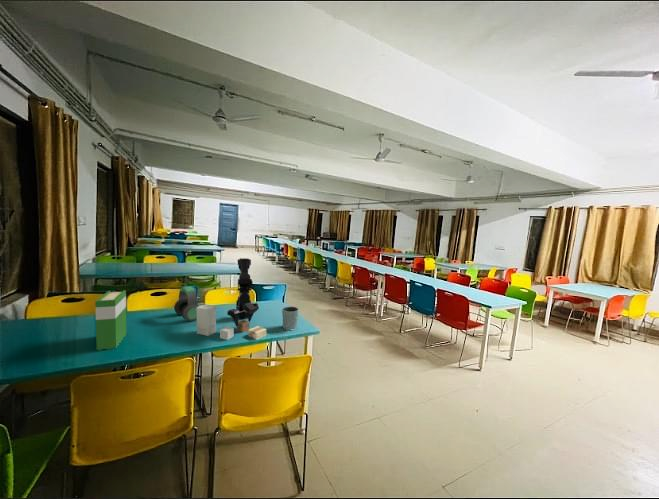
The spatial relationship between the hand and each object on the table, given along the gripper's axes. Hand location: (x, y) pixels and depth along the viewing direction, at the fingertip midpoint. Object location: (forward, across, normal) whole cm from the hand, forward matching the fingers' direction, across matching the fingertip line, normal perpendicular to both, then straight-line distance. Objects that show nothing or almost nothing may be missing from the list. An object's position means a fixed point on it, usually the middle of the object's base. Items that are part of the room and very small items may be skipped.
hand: (243, 323), depth 159 cm
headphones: (+4, -10, +41) cm, 42 cm away
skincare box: (+4, -16, +12) cm, 20 cm away
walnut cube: (+4, 0, 0) cm, 4 cm away
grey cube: (+4, -12, -1) cm, 13 cm away
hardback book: (+4, -51, +37) cm, 63 cm away
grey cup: (+4, +21, -18) cm, 28 cm away
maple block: (+4, 0, -12) cm, 13 cm away
